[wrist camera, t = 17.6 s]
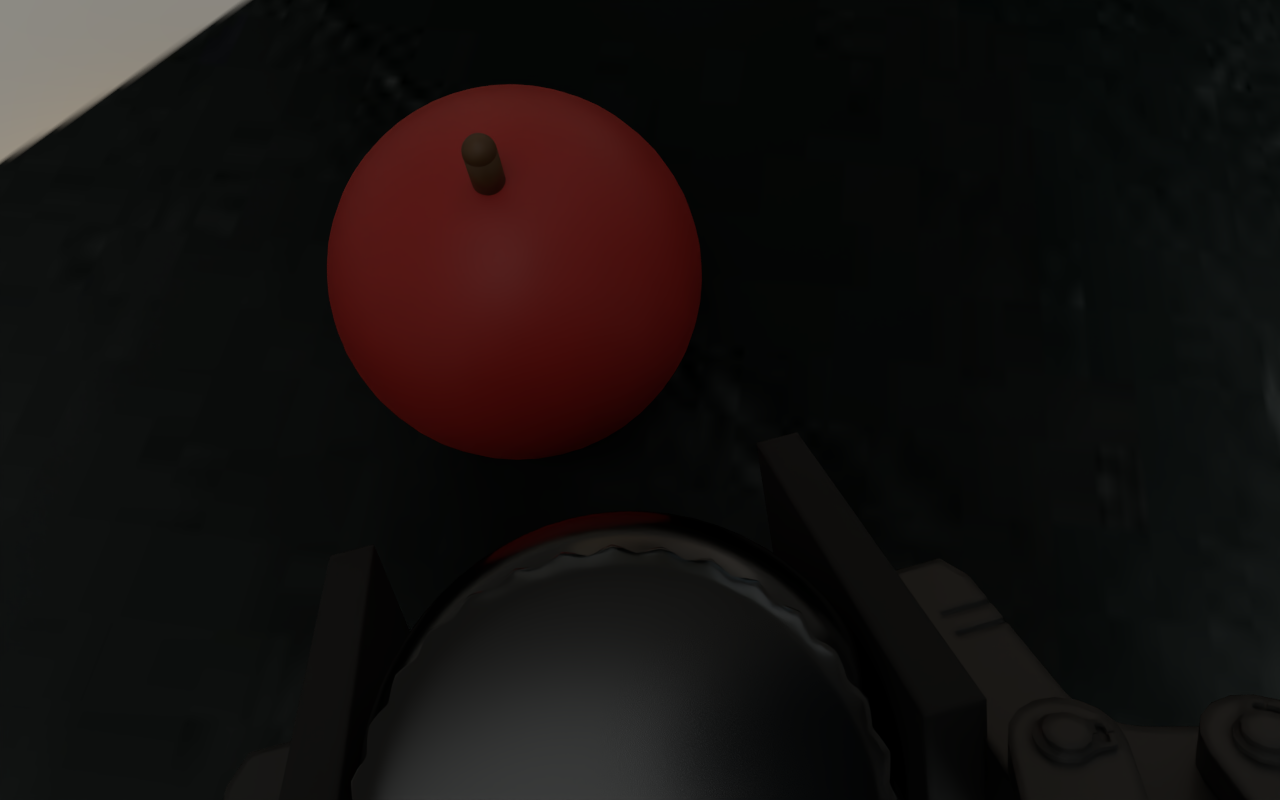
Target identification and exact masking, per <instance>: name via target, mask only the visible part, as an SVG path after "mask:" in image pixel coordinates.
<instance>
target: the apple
mask: <svg viewBox="0 0 1280 800" xmlns="http://www.w3.org/2000/svg"><path fill="white" fill-rule="evenodd" d="M327 280H328V292H329V300H330V304H331V309H332V313H333V317H334V321H335V324H336V327H337V331H338V333H339V336H340V338H341V341H342V343H343V346H344V348H345V351H346V353H347V354H348V356H349V358H350V360H351V361H352V363H353V365H354V366H355V368H356V370H357V372H358V373H359V374H360V376H361V377H362V379H363V380H364V382H365V383H366V384H367V385H368V387H369V388H370V389H371V390H372V392H373V393H374V394H375V395H376V397H377V398H378V399H379V400H380V401H381V402H382V403H383V404H384V405H385V406H387V407H388V408H389V409H390V410H391V411H392V412H393V413H394V414H395V415H396V416H398V417H399V418H400V419H402V420H403V421H404V422H406V423H407V424H409V425H410V426H412V427H413V428H414V429H416V430H417V431H419V432H420V433H422V434H424V435H426V436H428V437H430V438H431V439H433V440H435V441H437V442H439V443H441V444H444V445H447V446H449V447H452V448H455V449H458V450H461V451H464V452H467V453H472V454H476V455H481V456H486V457H491V458H500V459H513V460H521V459H540V458H545V457H551V456H556V455H562V454H565V453H569V452H572V451H575V450H578V449H581V448H584V447H587V446H589V445H591V444H593V443H595V442H598V441H600V440H602V439H604V438H606V437H608V436H609V435H611V434H613V433H614V432H616V431H617V430H619V429H621V428H622V427H624V426H625V425H626V424H628V423H629V422H630V421H631V420H633V419H634V418H635V417H636V416H638V415H639V414H640V413H641V412H642V411H643V410H644V409H645V408H646V407H647V406H648V405H649V404H650V403H651V402H652V401H653V400H654V399H655V398H656V397H657V395H658V394H659V393H660V392H661V391H662V390H663V388H664V387H665V385H666V384H667V383H668V381H669V380H670V378H671V377H672V376H673V374H674V373H675V371H676V369H677V367H678V365H679V364H680V362H681V360H682V358H683V356H684V354H685V352H686V350H687V347H688V344H689V341H690V339H691V336H692V333H693V330H694V327H695V324H696V319H697V314H698V310H699V305H700V299H701V284H702V268H701V255H700V245H699V241H698V236H697V232H696V227H695V224H694V221H693V217H692V214H691V212H690V209H689V207H688V204H687V201H686V199H685V196H684V194H683V192H682V190H681V188H680V187H679V185H678V183H677V181H676V179H675V178H674V176H673V174H672V173H671V171H670V170H669V169H668V167H667V166H666V164H665V163H664V162H663V160H662V159H661V158H660V156H659V155H658V154H657V152H656V151H655V150H654V149H653V148H652V147H651V146H650V145H649V144H648V143H647V142H646V141H645V140H644V139H643V138H642V137H641V136H640V135H639V134H638V133H637V132H636V131H634V130H633V129H632V128H630V127H629V126H628V125H627V124H625V123H624V122H623V121H621V120H620V119H619V118H618V117H616V116H615V115H613V114H611V113H610V112H608V111H606V110H605V109H603V108H601V107H600V106H598V105H596V104H594V103H591V102H589V101H587V100H584V99H582V98H580V97H577V96H574V95H570V94H567V93H564V92H560V91H557V90H553V89H549V88H543V87H537V86H531V85H515V84H508V85H490V86H484V87H478V88H472V89H468V90H464V91H461V92H457V93H453V94H450V95H448V96H445V97H443V98H440V99H438V100H435V101H433V102H431V103H429V104H427V105H425V106H423V107H422V108H420V109H418V110H416V111H414V112H413V113H411V114H410V115H408V116H407V117H406V118H404V119H403V120H401V121H400V122H398V123H397V124H396V125H395V126H394V127H393V128H391V129H390V130H389V131H388V132H387V133H386V134H385V135H384V136H383V137H382V138H381V139H380V140H379V141H378V142H377V143H376V144H375V145H374V147H373V148H372V149H371V150H370V151H369V152H368V153H367V154H366V155H365V157H364V158H363V160H362V161H361V162H360V164H359V165H358V167H357V168H356V170H355V171H354V173H353V174H352V176H351V178H350V180H349V182H348V184H347V186H346V188H345V190H344V192H343V194H342V197H341V200H340V203H339V205H338V208H337V211H336V214H335V217H334V220H333V223H332V228H331V233H330V238H329V243H328V259H327Z"/></svg>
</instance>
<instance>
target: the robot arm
mask: <svg viewBox="0 0 1280 800" xmlns="http://www.w3.org/2000/svg"><path fill="white" fill-rule="evenodd" d="M757 450H758V456H759V463H760V469H761V476H762V482H763V488H764V495H765V501H766V508H767V514H768V521H769V527H770V534H771V540H772V547H773V553H774V554H775V555H777V556H779V557H780V558H782V559H783V560H785V561H786V562H787V563H788V564H790V565H791V566H792V567H794V568H795V569H796V570H797V571H799V572H800V573H801V574H802V575H804V576H805V577H806V578H807V579H808V580H809V581H810V582H811V583H812V584H813V585H814V586H815V587H816V588H817V589H819V590H820V591H821V592H822V593H823V594H824V595H825V596H826V598H827V599H828V600H829V601H830V602H831V603H832V604H833V606H834V607H835V608H836V609H837V610H838V611H839V612H840V614H841V615H842V616H843V618H844V619H845V620H846V622H847V623H848V624H849V626H850V627H851V629H852V630H853V631H854V633H855V634H856V636H857V637H858V639H859V640H860V642H861V644H862V645H863V647H864V649H865V650H866V652H867V654H868V656H869V657H870V659H871V661H872V663H873V665H874V667H875V669H876V671H877V673H878V675H879V677H880V680H881V682H882V684H883V686H884V689H885V691H886V694H887V697H888V699H889V702H890V705H891V708H892V710H893V713H894V717H895V720H896V724H897V728H898V731H899V735H900V739H901V743H902V749H903V755H904V760H905V766H906V774H907V786H908V797H909V800H1280V700H1277V699H1272V698H1267V697H1263V696H1258V695H1230V696H1227V697H1225V698H1222V699H1219V700H1217V701H1214V702H1212V703H1211V704H1210V705H1209V706H1208V707H1207V708H1206V710H1205V711H1204V712H1203V713H1202V714H1201V718H1200V725H1199V726H1173V727H1146V726H1135V725H1126V724H1122V723H1118V722H1115V721H1114V720H1113V719H1112V718H1110V717H1109V716H1108V715H1106V714H1105V713H1104V712H1103V711H1101V710H1100V709H1098V708H1096V707H1093V706H1091V705H1089V704H1086V703H1084V702H1081V701H1079V700H1074V699H1072V698H1070V697H1069V696H1068V695H1067V694H1066V693H1065V692H1064V690H1063V689H1062V688H1061V687H1060V686H1059V684H1058V683H1057V682H1056V681H1055V680H1054V678H1053V677H1052V676H1051V675H1050V673H1049V672H1048V671H1047V670H1046V669H1045V667H1044V666H1043V665H1042V664H1041V663H1040V661H1039V660H1038V659H1037V658H1036V656H1035V655H1034V654H1033V653H1032V652H1031V650H1030V649H1029V648H1028V647H1027V646H1026V644H1025V643H1024V642H1023V641H1022V639H1021V638H1020V637H1019V636H1018V635H1017V633H1016V632H1015V631H1014V630H1013V629H1012V627H1011V626H1010V625H1009V624H1008V622H1007V623H1005V621H1004V618H1003V616H1002V615H1001V614H1000V613H999V612H998V610H997V609H996V608H995V607H994V605H993V604H992V603H989V601H988V598H987V597H986V596H985V595H984V593H983V592H982V591H981V590H980V588H979V587H978V586H977V585H976V584H975V582H974V581H973V580H972V579H971V578H970V576H969V575H967V574H966V573H964V572H962V571H960V570H959V569H957V568H955V567H953V566H952V565H950V564H948V563H946V562H945V561H943V560H941V559H939V558H938V559H935V560H931V561H928V562H924V563H921V564H917V565H913V566H910V567H906V568H903V569H899V570H895V569H894V568H893V566H892V565H891V564H890V562H889V561H888V559H887V558H886V557H885V555H884V554H883V552H882V551H881V550H880V548H879V547H878V545H877V544H876V543H875V541H874V540H873V538H872V537H871V536H870V534H869V533H868V531H867V530H866V528H865V527H864V526H863V524H862V523H861V521H860V520H859V519H858V517H857V516H856V514H855V513H854V512H853V510H852V509H851V507H850V506H849V505H848V503H847V502H846V500H845V499H844V498H843V496H842V495H841V493H840V492H839V490H838V489H837V488H836V486H835V485H834V483H833V482H832V481H831V479H830V478H829V476H828V475H827V474H826V472H825V471H824V469H823V468H822V467H821V465H820V464H819V462H818V461H817V460H816V458H815V457H814V455H813V454H812V452H811V451H810V450H809V448H808V447H807V445H806V444H805V443H804V441H803V440H802V438H801V437H800V436H799V434H798V433H797V432H796V433H792V434H789V435H785V436H781V437H777V438H773V439H770V440H766V441H762V442H758V443H757ZM409 633H410V631H409V629H408V627H407V624H406V622H405V619H404V617H403V614H402V612H401V610H400V607H399V605H398V602H397V600H396V597H395V595H394V593H393V590H392V588H391V585H390V583H389V580H388V578H387V575H386V573H385V571H384V568H383V566H382V563H381V561H380V558H379V556H378V554H377V551H376V549H375V546H374V544H373V545H370V546H366V547H362V548H358V549H355V550H351V551H347V552H343V553H339V554H336V555H332V556H330V559H329V564H328V569H327V573H326V578H325V583H324V588H323V592H322V597H321V602H320V607H319V611H318V616H317V621H316V625H315V630H314V635H313V640H312V644H311V649H310V654H309V659H308V663H307V668H306V673H305V678H304V682H303V687H302V692H301V696H300V701H299V706H298V711H297V715H296V720H295V725H294V730H293V734H292V739H291V741H290V742H286V743H283V744H279V745H276V746H272V747H268V748H265V749H261V750H258V751H254V752H251V753H249V754H248V755H247V757H246V758H245V760H244V761H243V763H242V764H241V766H240V767H239V769H238V770H237V772H236V773H235V775H234V776H233V778H232V779H231V781H230V782H229V783H228V785H227V787H226V791H225V795H224V798H223V800H352V792H351V780H352V778H353V776H354V774H355V772H356V771H357V767H358V761H359V756H360V750H361V745H362V740H363V736H364V733H365V729H366V725H367V722H368V718H369V714H370V711H371V709H372V706H373V703H374V701H375V698H376V695H377V693H378V690H379V687H380V685H381V683H382V681H383V679H384V677H385V675H386V672H387V670H388V668H389V666H390V664H391V662H392V660H393V659H394V657H395V655H396V654H397V652H398V650H399V648H400V647H401V645H402V643H403V642H404V640H405V638H406V637H407V636H408V634H409Z"/></svg>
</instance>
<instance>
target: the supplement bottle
mask: <svg viewBox="0 0 1280 800" xmlns="http://www.w3.org/2000/svg"><path fill="white" fill-rule="evenodd" d="M351 792H352V800H909V797H908V786H907V774H906V766H905V760H904V755H903V749H902V743H901V739H900V735H899V731H898V728H897V724H896V720H895V717H894V713H893V710H892V708H891V705H890V702H889V699H888V697H887V694H886V691H885V689H884V686H883V684H882V682H881V680H880V677H879V675H878V673H877V671H876V669H875V667H874V665H873V663H872V661H871V659H870V657H869V656H868V654H867V652H866V650H865V649H864V647H863V645H862V644H861V642H860V640H859V639H858V637H857V636H856V634H855V633H854V631H853V630H852V629H851V627H850V626H849V624H848V623H847V622H846V620H845V619H844V618H843V616H842V615H841V614H840V612H839V611H838V610H837V609H836V608H835V607H834V606H833V604H832V603H831V602H830V601H829V600H828V599H827V598H826V596H825V595H824V594H823V593H822V592H821V591H820V590H819V589H817V588H816V587H815V586H814V585H813V584H812V583H811V582H810V581H809V580H808V579H807V578H806V577H805V576H804V575H802V574H801V573H800V572H799V571H797V570H796V569H795V568H794V567H792V566H791V565H790V564H788V563H787V562H786V561H785V560H783V559H782V558H780V557H779V556H777V555H775V554H774V553H772V552H771V551H769V550H768V549H766V548H765V547H763V546H761V545H759V544H757V543H755V542H754V541H752V540H750V539H748V538H746V537H744V536H742V535H740V534H738V533H735V532H733V531H730V530H728V529H725V528H723V527H720V526H718V525H715V524H711V523H708V522H704V521H701V520H698V519H694V518H690V517H685V516H680V515H674V514H669V513H660V512H649V511H615V512H605V513H595V514H590V515H585V516H580V517H575V518H570V519H566V520H563V521H560V522H557V523H553V524H550V525H547V526H544V527H542V528H539V529H537V530H534V531H532V532H529V533H527V534H525V535H522V536H520V537H518V538H517V539H515V540H513V541H511V542H509V543H507V544H505V545H503V546H501V547H500V548H498V549H497V550H495V551H493V552H492V553H490V554H489V555H487V556H486V557H484V558H483V559H481V560H480V561H478V562H477V563H476V564H474V565H473V566H472V567H471V568H469V569H468V570H467V571H466V572H464V573H463V574H462V575H461V576H459V577H458V578H457V579H456V580H455V581H454V582H453V583H452V584H451V585H450V586H449V587H448V588H447V589H446V590H445V591H444V592H443V593H441V594H440V595H439V597H438V598H437V599H436V600H435V601H434V602H433V603H432V605H431V606H430V607H429V608H428V609H427V610H426V611H425V613H424V614H423V615H422V616H421V618H420V619H419V620H418V622H417V623H416V624H415V626H414V627H413V629H412V630H411V631H410V633H409V634H408V636H407V637H406V638H405V640H404V642H403V643H402V645H401V647H400V648H399V650H398V652H397V654H396V655H395V657H394V659H393V660H392V662H391V664H390V666H389V668H388V670H387V672H386V675H385V677H384V679H383V681H382V683H381V685H380V687H379V690H378V693H377V695H376V698H375V701H374V703H373V706H372V709H371V711H370V714H369V718H368V722H367V725H366V729H365V733H364V736H363V740H362V745H361V750H360V756H359V761H358V767H357V771H356V772H355V774H354V776H353V778H352V780H351Z"/></svg>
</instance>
